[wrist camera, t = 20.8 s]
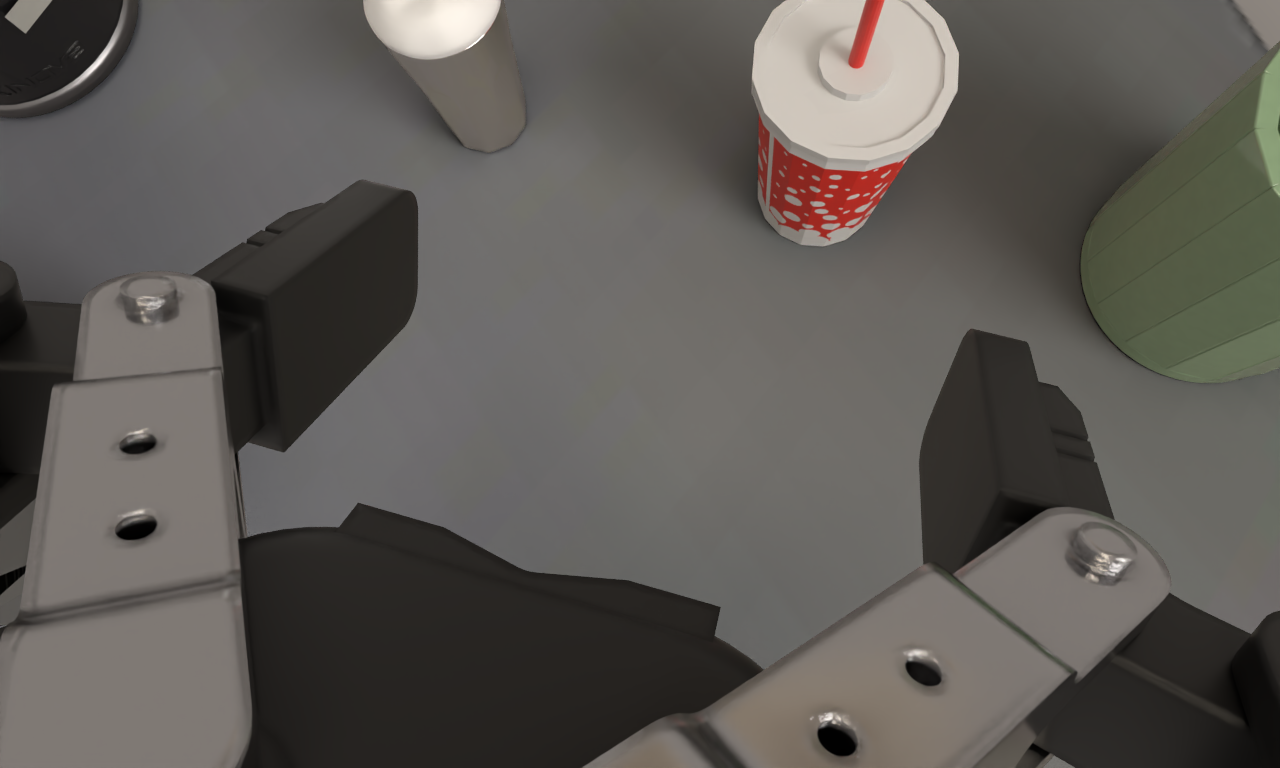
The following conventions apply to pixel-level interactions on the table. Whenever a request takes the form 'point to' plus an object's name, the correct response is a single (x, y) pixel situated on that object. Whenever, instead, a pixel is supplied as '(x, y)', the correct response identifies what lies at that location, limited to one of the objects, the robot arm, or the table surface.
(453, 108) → the milkshake
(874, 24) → the beverage cup
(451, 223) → the table surface
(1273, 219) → the pen pot
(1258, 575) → the table surface
